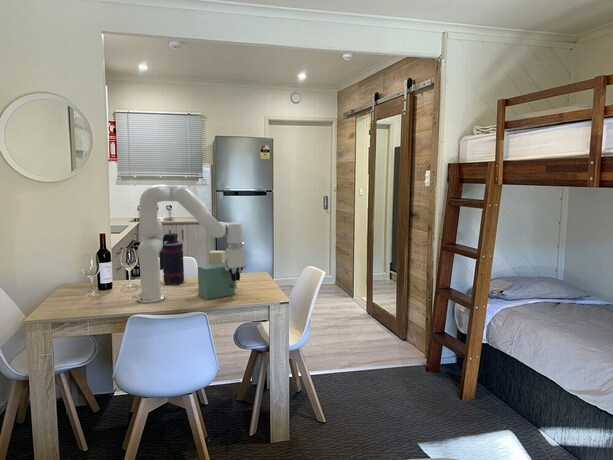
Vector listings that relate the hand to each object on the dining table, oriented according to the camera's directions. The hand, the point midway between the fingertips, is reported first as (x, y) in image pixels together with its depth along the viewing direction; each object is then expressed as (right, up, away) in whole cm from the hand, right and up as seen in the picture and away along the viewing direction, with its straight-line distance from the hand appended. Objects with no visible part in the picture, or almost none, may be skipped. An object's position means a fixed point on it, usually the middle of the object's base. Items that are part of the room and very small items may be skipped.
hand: (235, 280), depth 234 cm
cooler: (-11, -9, +7) cm, 16 cm away
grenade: (-44, -6, +35) cm, 56 cm away
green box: (-7, -9, 0) cm, 11 cm away
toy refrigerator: (-14, -7, +23) cm, 28 cm away
